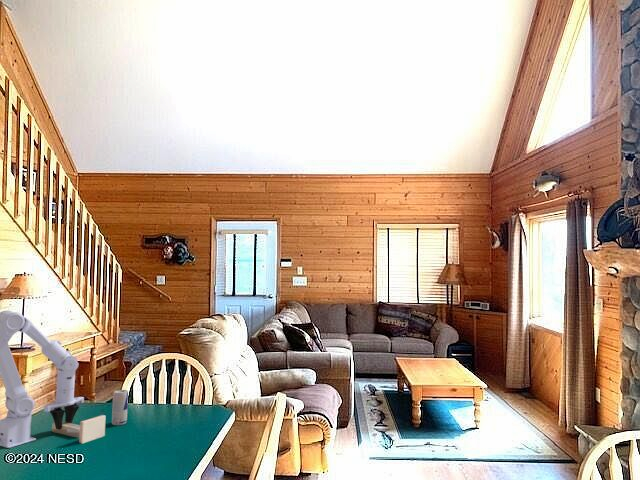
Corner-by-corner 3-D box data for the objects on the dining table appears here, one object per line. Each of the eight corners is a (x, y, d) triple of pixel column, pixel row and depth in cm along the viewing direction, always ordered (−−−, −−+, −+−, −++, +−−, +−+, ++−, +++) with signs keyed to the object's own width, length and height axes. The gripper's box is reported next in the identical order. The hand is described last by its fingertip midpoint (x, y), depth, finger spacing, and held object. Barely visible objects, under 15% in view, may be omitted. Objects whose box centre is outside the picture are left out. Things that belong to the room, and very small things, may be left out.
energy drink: (129, 421, 191) (130, 390, 192) (122, 425, 185) (123, 393, 186) (116, 420, 191) (117, 389, 192) (108, 425, 186) (110, 392, 187)
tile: (82, 443, 166) (83, 422, 167) (79, 442, 167) (80, 421, 167) (104, 435, 174) (105, 415, 175) (101, 435, 175) (102, 415, 175)
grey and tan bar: (78, 438, 171) (78, 429, 172) (51, 431, 177) (52, 423, 178) (85, 435, 174) (86, 426, 174) (59, 429, 180) (59, 420, 180)
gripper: (54, 394, 170) (52, 434, 169) (90, 386, 183) (88, 423, 182) (41, 391, 173) (38, 431, 172) (77, 383, 186) (75, 420, 185)
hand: (63, 427), depth 177 cm, fingers open, 3 cm apart
